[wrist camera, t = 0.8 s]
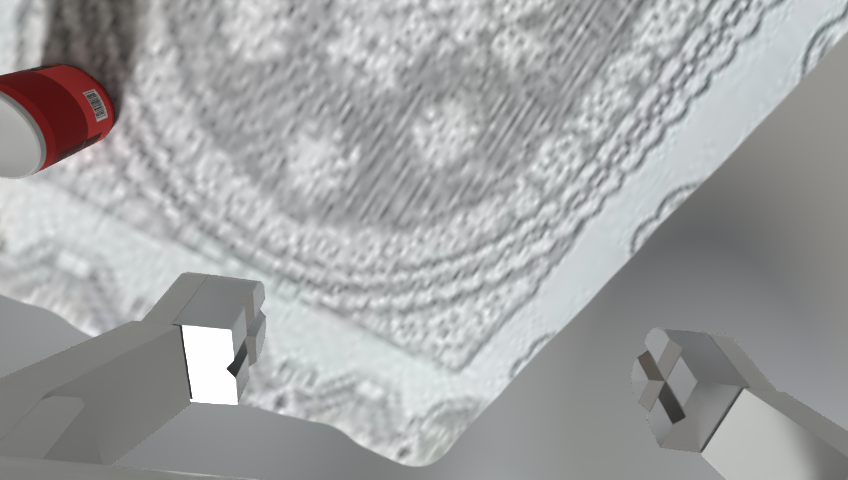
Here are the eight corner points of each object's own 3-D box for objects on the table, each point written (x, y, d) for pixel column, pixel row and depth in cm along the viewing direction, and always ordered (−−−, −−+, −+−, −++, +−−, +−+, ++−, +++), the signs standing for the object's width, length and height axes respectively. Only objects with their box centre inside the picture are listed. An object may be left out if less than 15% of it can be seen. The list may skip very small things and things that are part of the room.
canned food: (52, 44, 46) (-50, 63, 36) (130, 100, 48) (55, 132, 38) (25, 105, 48) (-76, 137, 39) (100, 155, 51) (23, 197, 41)
